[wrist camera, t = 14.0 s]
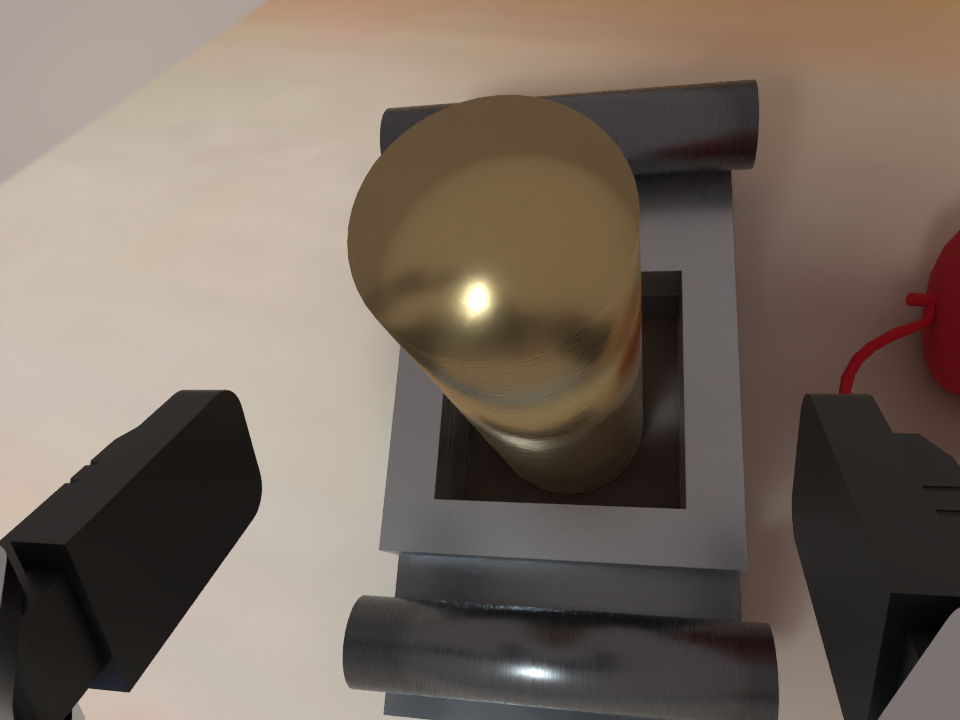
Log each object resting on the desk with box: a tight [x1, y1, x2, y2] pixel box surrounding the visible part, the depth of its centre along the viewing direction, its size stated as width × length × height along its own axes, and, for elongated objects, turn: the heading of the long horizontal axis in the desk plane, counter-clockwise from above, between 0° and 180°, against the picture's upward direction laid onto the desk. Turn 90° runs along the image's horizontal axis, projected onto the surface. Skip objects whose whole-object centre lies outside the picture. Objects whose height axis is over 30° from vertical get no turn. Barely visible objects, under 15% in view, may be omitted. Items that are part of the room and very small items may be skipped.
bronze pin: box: [347, 95, 643, 494], centre depth 15 cm, size 4×4×11 cm
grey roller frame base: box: [343, 80, 779, 720], centre depth 18 cm, size 9×15×5 cm, turn 177°
